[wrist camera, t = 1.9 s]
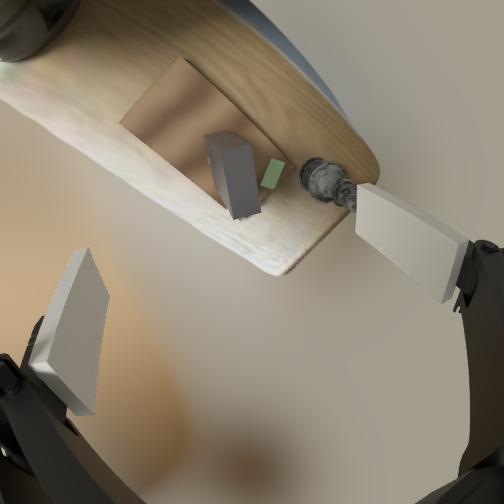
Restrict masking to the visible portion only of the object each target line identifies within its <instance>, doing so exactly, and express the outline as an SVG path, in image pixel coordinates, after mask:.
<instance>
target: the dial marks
mask: <svg viewBox="0 0 504 504" xmlns="http://www.w3.org/2000/svg"><path fill="white" fill-rule="evenodd" d="M284 164H285V163H284V162H282V161H279V160H276V159H273V158H271V159H270V161H269V164H268V166H267V169H266V171H265V174H264V176H263V179H262V181H261V184H260V186H263V187H267V188H270V189H273V190H274V189H275V186H276V184H277V181H278V179H279V177H280V174H281V172H282V169H283V167H284ZM260 204H261V203H260Z"/></svg>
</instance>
